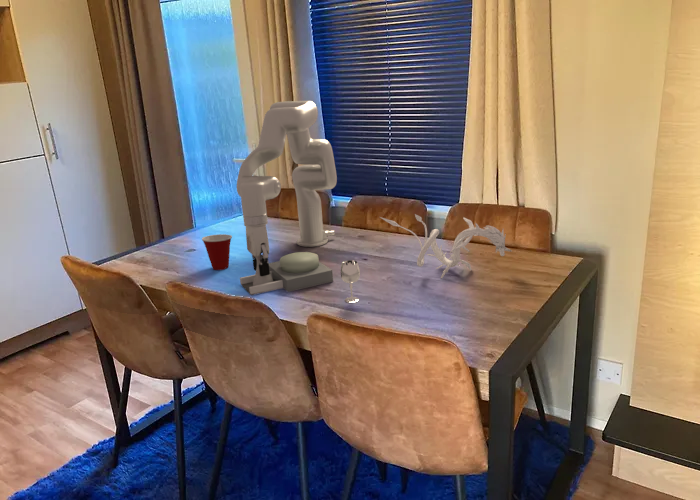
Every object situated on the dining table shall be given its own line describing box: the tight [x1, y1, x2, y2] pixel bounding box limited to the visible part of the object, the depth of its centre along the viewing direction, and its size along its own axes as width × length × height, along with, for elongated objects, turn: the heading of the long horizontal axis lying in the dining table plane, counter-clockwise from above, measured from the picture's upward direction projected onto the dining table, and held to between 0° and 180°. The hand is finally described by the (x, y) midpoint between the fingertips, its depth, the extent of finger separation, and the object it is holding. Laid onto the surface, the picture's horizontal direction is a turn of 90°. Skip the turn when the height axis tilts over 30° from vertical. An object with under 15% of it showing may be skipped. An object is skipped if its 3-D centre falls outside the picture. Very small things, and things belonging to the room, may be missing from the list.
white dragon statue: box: [379, 213, 513, 279], centre depth 188 cm, size 43×20×25 cm, turn 65°
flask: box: [253, 256, 274, 286], centre depth 191 cm, size 7×7×10 cm
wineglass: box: [340, 259, 361, 304], centre depth 174 cm, size 6×6×12 cm
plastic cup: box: [201, 233, 233, 271], centre depth 211 cm, size 11×11×12 cm
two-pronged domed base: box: [239, 251, 334, 296], centre depth 194 cm, size 27×20×7 cm
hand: (261, 272), depth 191 cm, fingers open, 5 cm apart
